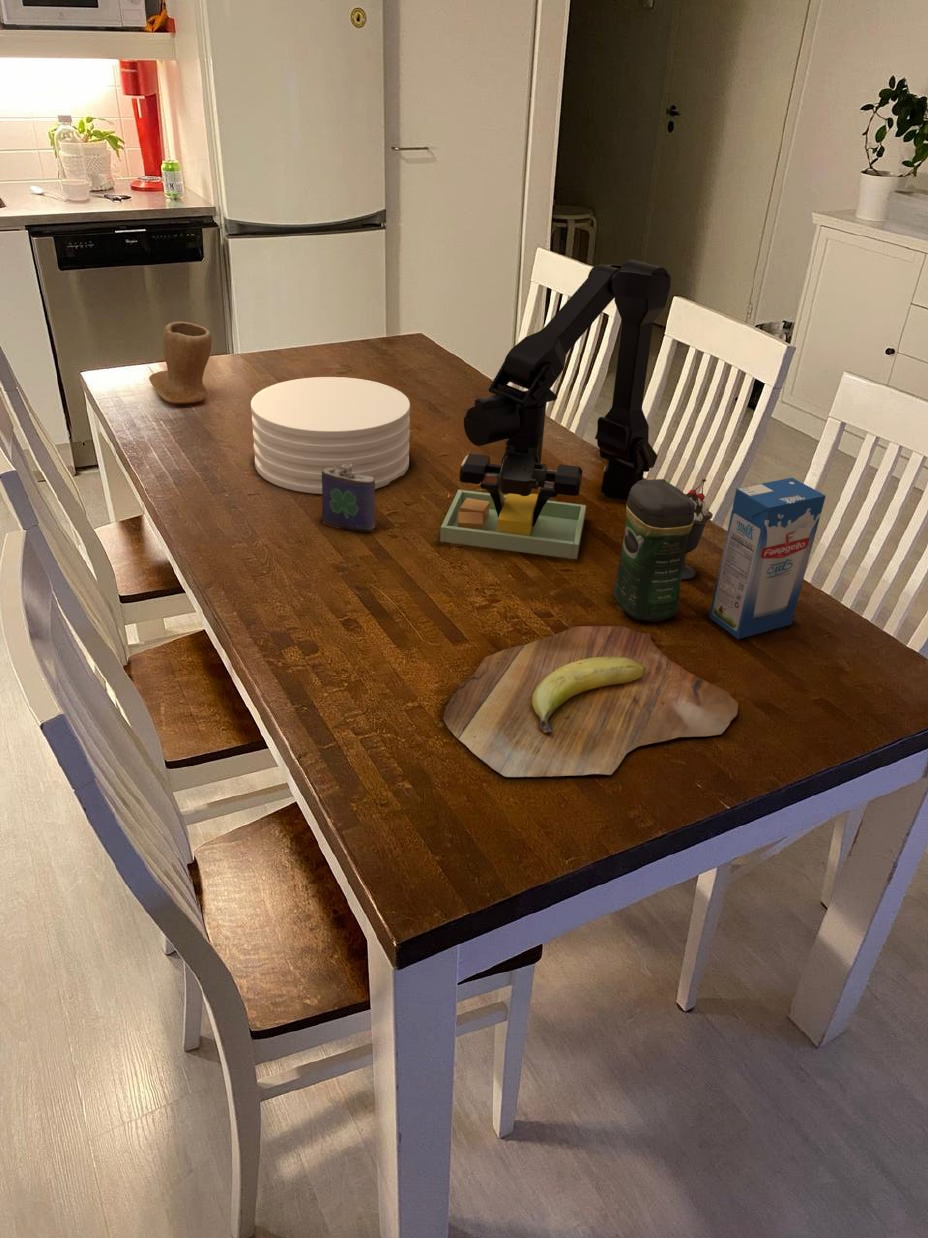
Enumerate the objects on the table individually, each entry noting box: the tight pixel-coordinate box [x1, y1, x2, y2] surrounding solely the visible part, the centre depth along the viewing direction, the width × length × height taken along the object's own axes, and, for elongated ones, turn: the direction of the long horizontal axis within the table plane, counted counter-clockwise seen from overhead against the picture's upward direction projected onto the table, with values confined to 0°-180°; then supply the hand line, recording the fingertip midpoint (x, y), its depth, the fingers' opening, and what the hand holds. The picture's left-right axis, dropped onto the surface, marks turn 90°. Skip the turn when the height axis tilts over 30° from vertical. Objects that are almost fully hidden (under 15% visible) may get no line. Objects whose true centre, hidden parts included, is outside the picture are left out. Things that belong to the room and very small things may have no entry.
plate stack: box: [250, 376, 411, 495], centre depth 176 cm, size 28×28×12 cm
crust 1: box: [460, 498, 490, 523], centre depth 160 cm, size 4×4×2 cm
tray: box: [439, 489, 587, 560], centre depth 157 cm, size 22×15×3 cm
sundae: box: [681, 478, 714, 581], centre depth 146 cm, size 7×7×15 cm
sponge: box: [497, 493, 538, 536], centre depth 156 cm, size 5×11×4 cm, turn 170°
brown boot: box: [148, 321, 213, 404], centre depth 201 cm, size 15×12×15 cm
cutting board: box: [442, 625, 739, 778], centre depth 119 cm, size 35×27×4 cm
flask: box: [321, 463, 376, 534], centre depth 155 cm, size 9×3×11 cm, turn 68°
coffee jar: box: [613, 478, 695, 623], centre depth 135 cm, size 10×8×19 cm
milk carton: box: [708, 477, 827, 640], centre depth 133 cm, size 10×6×20 cm, turn 117°
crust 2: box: [458, 512, 484, 530], centre depth 156 cm, size 4×4×2 cm
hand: (516, 523), depth 157 cm, fingers closed on sponge, 5 cm apart
